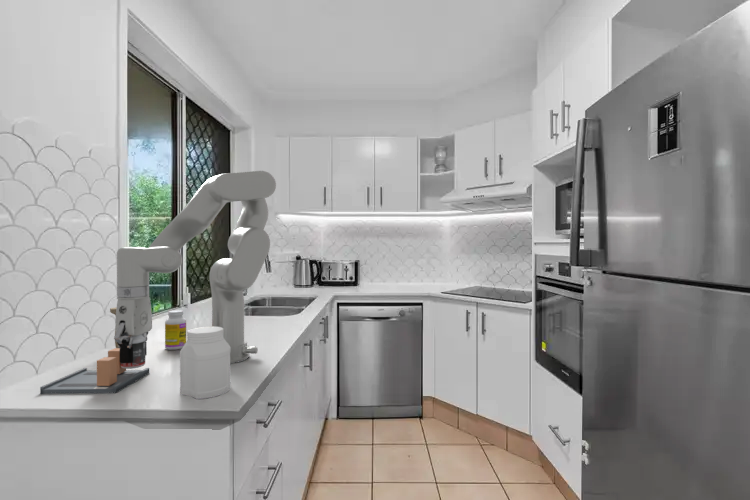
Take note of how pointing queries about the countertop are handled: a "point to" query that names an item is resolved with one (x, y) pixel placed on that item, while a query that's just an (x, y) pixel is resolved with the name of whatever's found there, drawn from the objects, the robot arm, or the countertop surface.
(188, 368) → the jar
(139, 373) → the grey tray
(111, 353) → the orange rectangular block
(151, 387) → the countertop surface
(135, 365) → the pill bottle
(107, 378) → the tab
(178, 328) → the supplement bottle
